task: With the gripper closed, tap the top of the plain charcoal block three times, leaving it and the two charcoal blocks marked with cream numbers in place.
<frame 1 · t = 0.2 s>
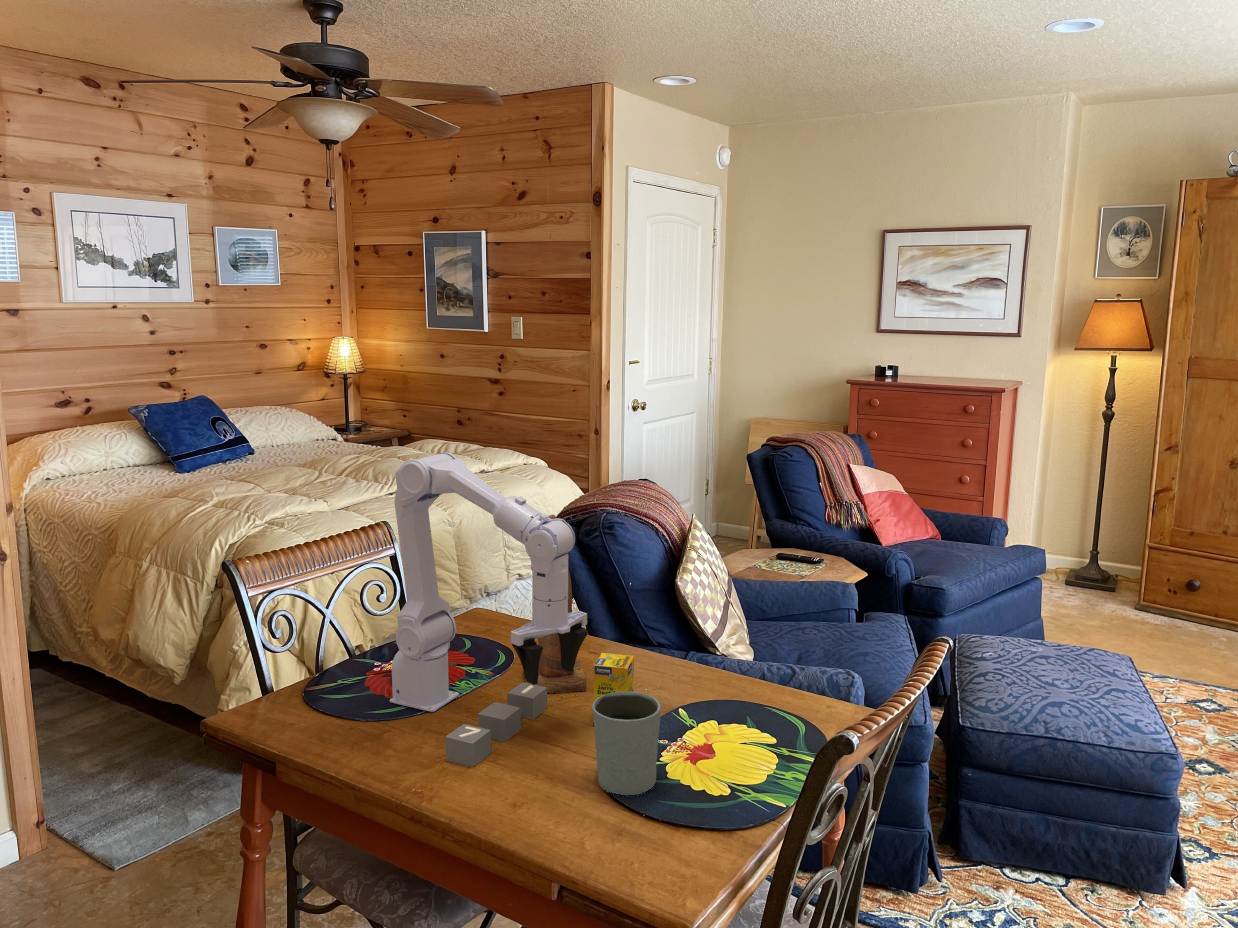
hand: (549, 675, 149), 10 cm above the table, tool pointing down, fingers open, 7 cm apart
block one: (527, 711, 159), on the table
bird sculpture: (553, 682, 171), on the table
block seven: (468, 757, 143), on the table
grey cup: (625, 781, 136), on the table
plain block: (499, 733, 151), on the table
supplement box: (613, 722, 155), on the table
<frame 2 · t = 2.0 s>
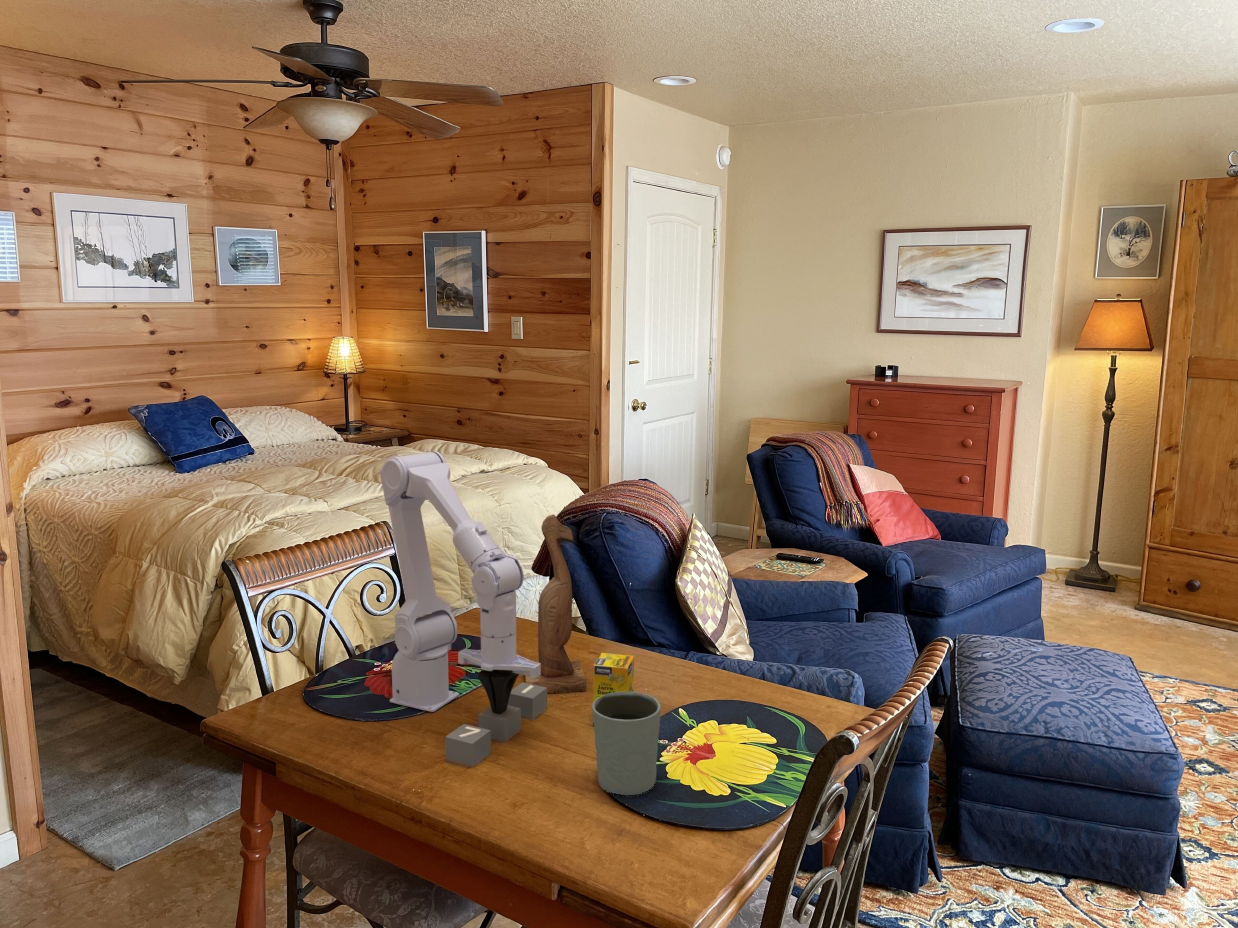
hand: (499, 711, 150), 4 cm above the table, tool pointing down, fingers closed
plain block: (500, 733, 151), on the table, touching gripper
everything else where it was.
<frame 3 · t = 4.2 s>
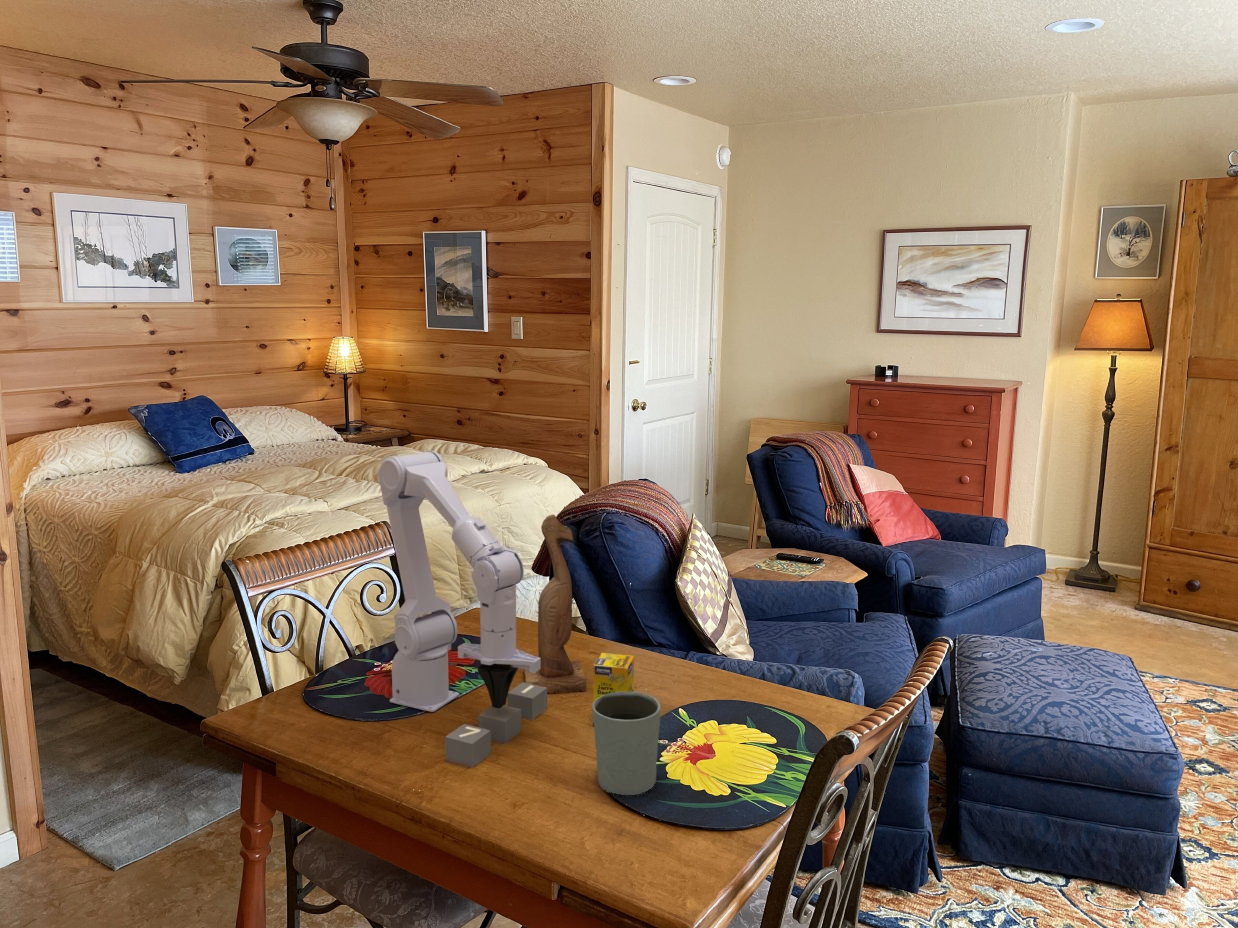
hand: (499, 705, 150), 5 cm above the table, tool pointing down, fingers closed
plain block: (500, 734, 150), on the table
everything else where it was.
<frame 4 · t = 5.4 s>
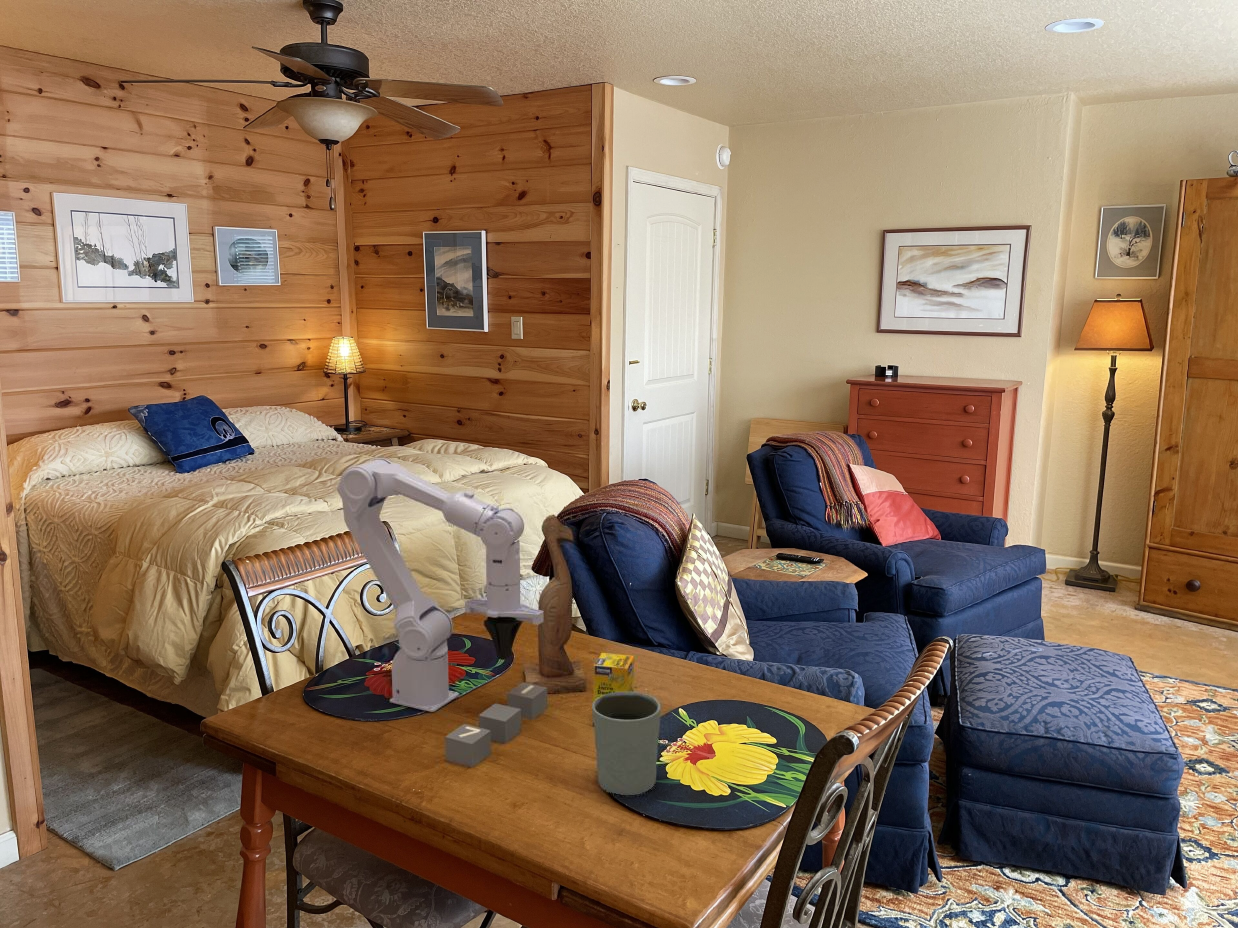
hand: (504, 657, 158), 9 cm above the table, tool pointing down, fingers closed
nothing on the table moved.
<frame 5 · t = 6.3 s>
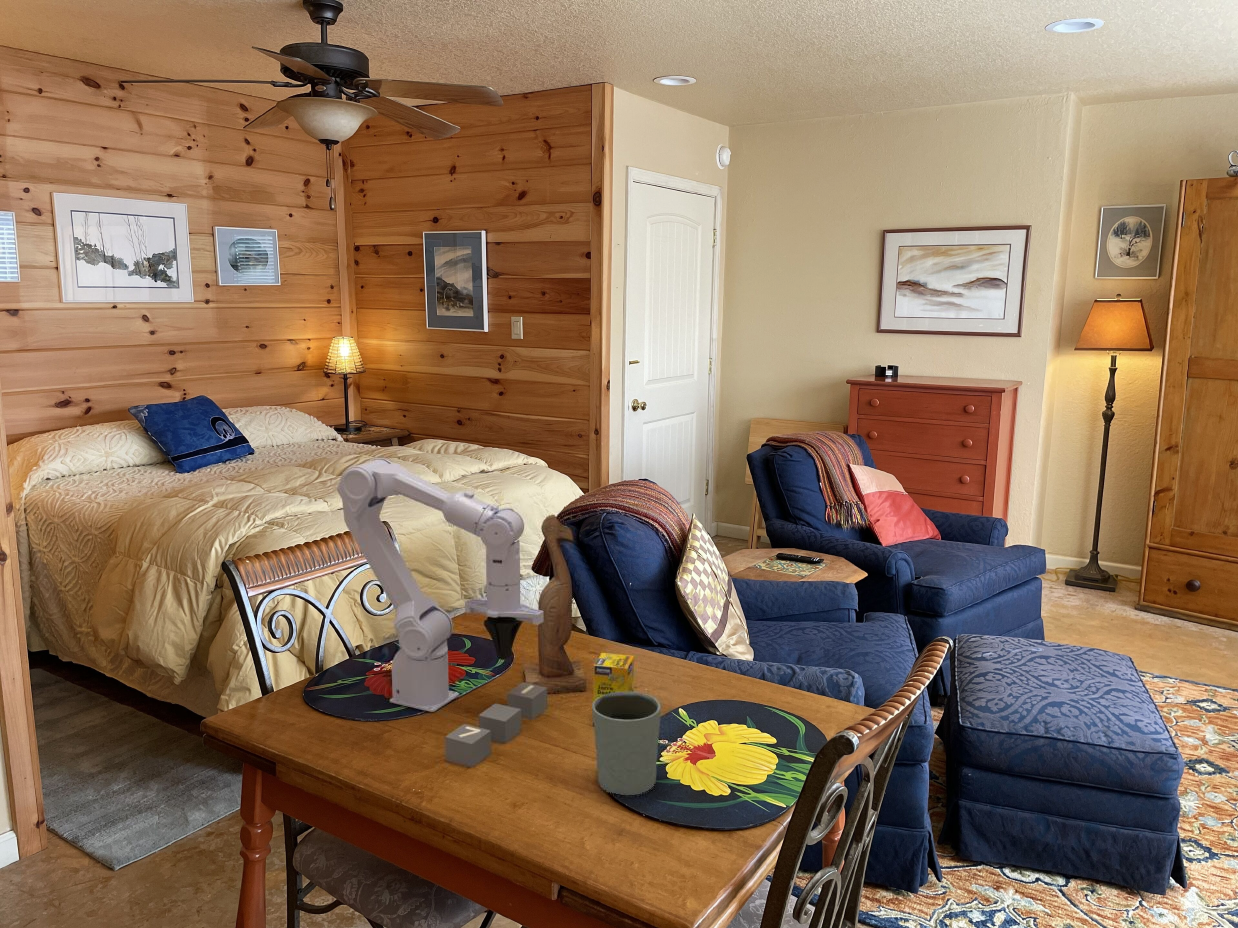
hand: (504, 657, 158), 9 cm above the table, tool pointing down, fingers closed
nothing on the table moved.
at the end: plain block moved 0.6 cm from its start; block seven moved 0.2 cm from its start; block one moved 0.2 cm from its start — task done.
